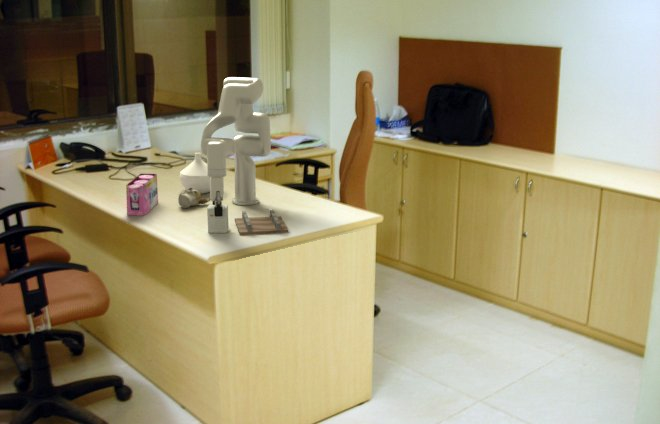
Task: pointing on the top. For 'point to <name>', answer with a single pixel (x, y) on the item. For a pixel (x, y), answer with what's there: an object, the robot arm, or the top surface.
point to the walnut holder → (260, 224)
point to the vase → (196, 175)
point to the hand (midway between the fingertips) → (217, 213)
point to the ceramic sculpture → (191, 198)
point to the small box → (217, 220)
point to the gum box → (142, 194)
